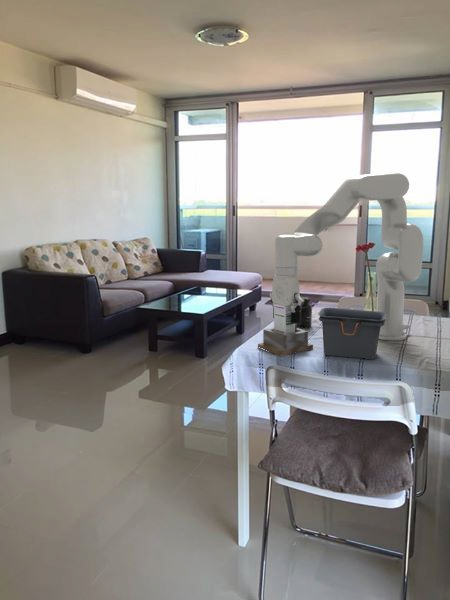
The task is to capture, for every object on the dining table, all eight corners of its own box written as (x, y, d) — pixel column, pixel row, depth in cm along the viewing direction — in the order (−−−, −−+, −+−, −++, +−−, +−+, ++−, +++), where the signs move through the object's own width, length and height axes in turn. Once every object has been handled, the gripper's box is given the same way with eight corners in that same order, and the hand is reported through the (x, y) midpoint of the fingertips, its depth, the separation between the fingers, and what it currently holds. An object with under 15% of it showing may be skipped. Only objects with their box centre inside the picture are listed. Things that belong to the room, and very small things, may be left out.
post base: (290, 341, 184) (290, 323, 182) (313, 348, 174) (313, 330, 172) (257, 347, 176) (257, 330, 174) (279, 356, 166) (279, 337, 165)
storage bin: (384, 351, 170) (386, 310, 167) (383, 365, 156) (385, 321, 153) (321, 346, 177) (322, 307, 174) (314, 359, 162) (315, 316, 160)
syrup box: (285, 347, 171) (285, 306, 168) (273, 343, 175) (273, 303, 173) (297, 344, 174) (297, 303, 171) (285, 340, 179) (285, 301, 176)
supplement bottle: (311, 329, 200) (311, 299, 198) (294, 328, 202) (294, 299, 199) (311, 324, 207) (312, 296, 205) (295, 324, 208) (295, 296, 206)
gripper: (262, 269, 175) (262, 317, 178) (294, 275, 160) (294, 327, 164) (278, 267, 178) (278, 314, 182) (311, 273, 164) (311, 323, 168)
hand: (286, 320), depth 173 cm, fingers open, 9 cm apart
